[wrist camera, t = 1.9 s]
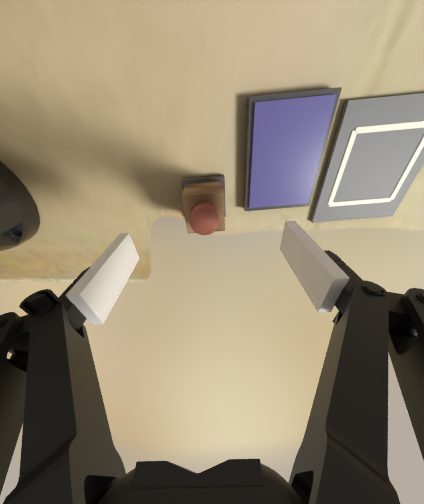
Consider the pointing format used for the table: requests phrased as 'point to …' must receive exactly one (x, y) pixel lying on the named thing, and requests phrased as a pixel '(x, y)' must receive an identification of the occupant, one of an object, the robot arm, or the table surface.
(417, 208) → the table surface
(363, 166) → the board
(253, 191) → the ink pad
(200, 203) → the stamp
